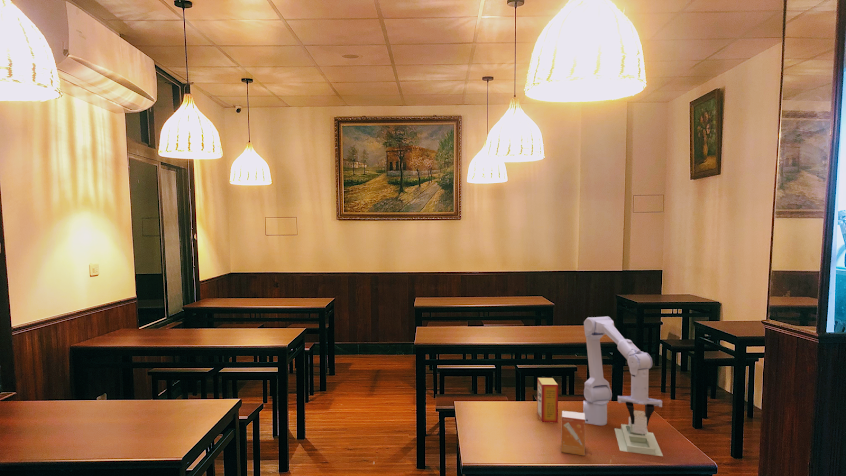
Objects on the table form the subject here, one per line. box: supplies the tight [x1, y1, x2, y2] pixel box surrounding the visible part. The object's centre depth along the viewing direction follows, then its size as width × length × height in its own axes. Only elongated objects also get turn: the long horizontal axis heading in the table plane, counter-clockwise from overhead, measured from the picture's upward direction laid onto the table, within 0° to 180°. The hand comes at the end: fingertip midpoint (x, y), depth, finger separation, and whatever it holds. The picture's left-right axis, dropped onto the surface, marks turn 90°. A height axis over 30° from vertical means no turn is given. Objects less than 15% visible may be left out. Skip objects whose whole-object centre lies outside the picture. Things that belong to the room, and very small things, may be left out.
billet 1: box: [628, 416, 642, 435], centre depth 180 cm, size 4×6×6 cm, turn 163°
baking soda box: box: [536, 377, 559, 424], centre depth 199 cm, size 10×6×16 cm
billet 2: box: [632, 409, 648, 434], centre depth 170 cm, size 4×6×6 cm, turn 163°
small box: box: [560, 410, 586, 457], centre depth 170 cm, size 8×6×13 cm
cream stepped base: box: [614, 423, 664, 457], centre depth 175 cm, size 14×20×3 cm
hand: (639, 423), depth 171 cm, fingers closed on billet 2, 4 cm apart
